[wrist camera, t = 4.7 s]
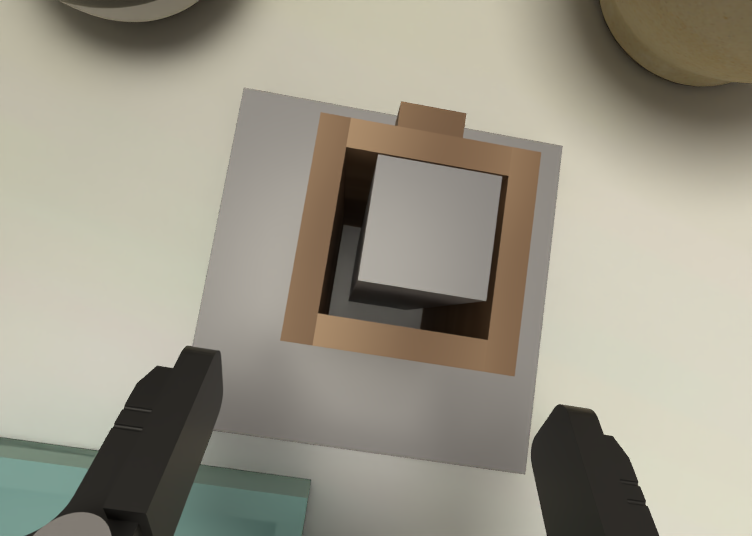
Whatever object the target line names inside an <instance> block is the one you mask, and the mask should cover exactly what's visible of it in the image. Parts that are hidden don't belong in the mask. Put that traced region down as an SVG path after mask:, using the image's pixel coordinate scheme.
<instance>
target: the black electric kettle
mask: <svg viewBox="0 0 752 536" xmlns="http://www.w3.org/2000/svg"><path fill="white" fill-rule="evenodd" d="M58 1H60V2H62V3H64V4H66V5H68V6H70V7H73V8H75V9H77V10H79V11H82V12H85V13H87V14H90V15H93V16H97V17H100V18H104V19H109V20H114V21H123V22H145V21H153V20H158V19H162V18H166V17H169V16H172V15H175V14H177V13H179V12H181V11H183V10H185V9H187V8H189V7H190V6H192V5H193V4H195V3H196V2H198V1H199V0H58Z"/></svg>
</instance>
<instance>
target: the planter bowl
mask: <svg viewBox="0 0 752 536" xmlns="http://www.w3.org/2000/svg"><path fill="white" fill-rule="evenodd" d="M600 5H601V9H602V12H603V15H604V19H605V21H606V23H607V25H608V27H609V29H610V31H611V33H612V34H613V36H614V37H615V39H616V40H617V42H618V43H619V44H620V46H621V47H622V48H623V49H624V50H625V51H626V53H627V54H628V55H629V56H630V57H632V58H633V59H634V60H635V61H636V62H637V63H639V64H640V65H641V66H643V67H644V68H645V69H647V70H648V71H650V72H652V73H653V74H655V75H658V76H660V77H662V78H664V79H667V80H670V81H673V82H675V83H680V84H685V85H691V86H716V85H722V84H727V83H730V82H739V83H752V0H600Z"/></svg>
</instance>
